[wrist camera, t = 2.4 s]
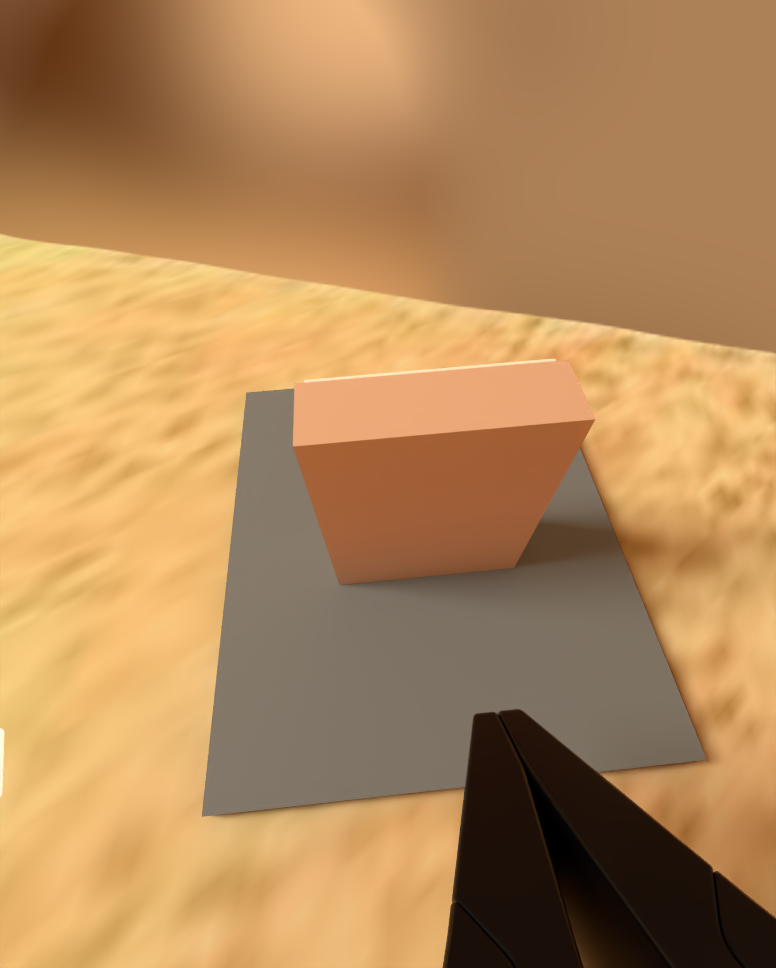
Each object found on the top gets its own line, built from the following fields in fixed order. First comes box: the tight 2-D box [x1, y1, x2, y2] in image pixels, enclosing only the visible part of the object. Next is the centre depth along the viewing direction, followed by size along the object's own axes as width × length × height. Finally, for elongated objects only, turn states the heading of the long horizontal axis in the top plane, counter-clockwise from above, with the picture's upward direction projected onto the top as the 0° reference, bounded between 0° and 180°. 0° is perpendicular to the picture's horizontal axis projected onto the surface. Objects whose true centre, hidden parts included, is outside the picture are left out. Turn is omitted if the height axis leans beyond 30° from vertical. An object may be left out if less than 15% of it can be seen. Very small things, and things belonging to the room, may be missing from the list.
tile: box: [293, 359, 595, 585], centre depth 15 cm, size 2×7×9 cm, turn 95°
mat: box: [202, 389, 707, 817], centre depth 19 cm, size 18×16×1 cm
